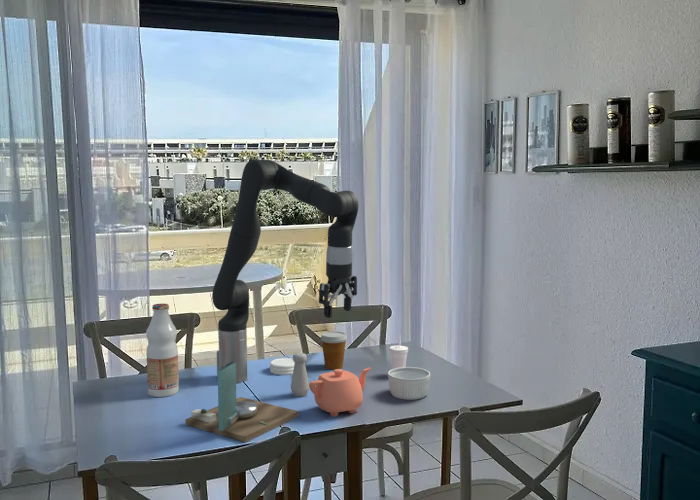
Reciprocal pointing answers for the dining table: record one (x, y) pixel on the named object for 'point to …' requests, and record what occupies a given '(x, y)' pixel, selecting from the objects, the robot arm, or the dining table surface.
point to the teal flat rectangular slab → (231, 398)
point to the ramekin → (409, 382)
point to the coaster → (282, 366)
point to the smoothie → (398, 355)
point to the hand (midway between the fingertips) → (337, 313)
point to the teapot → (339, 391)
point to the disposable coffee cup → (333, 349)
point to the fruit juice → (162, 354)
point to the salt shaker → (299, 376)
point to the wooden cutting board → (243, 421)
